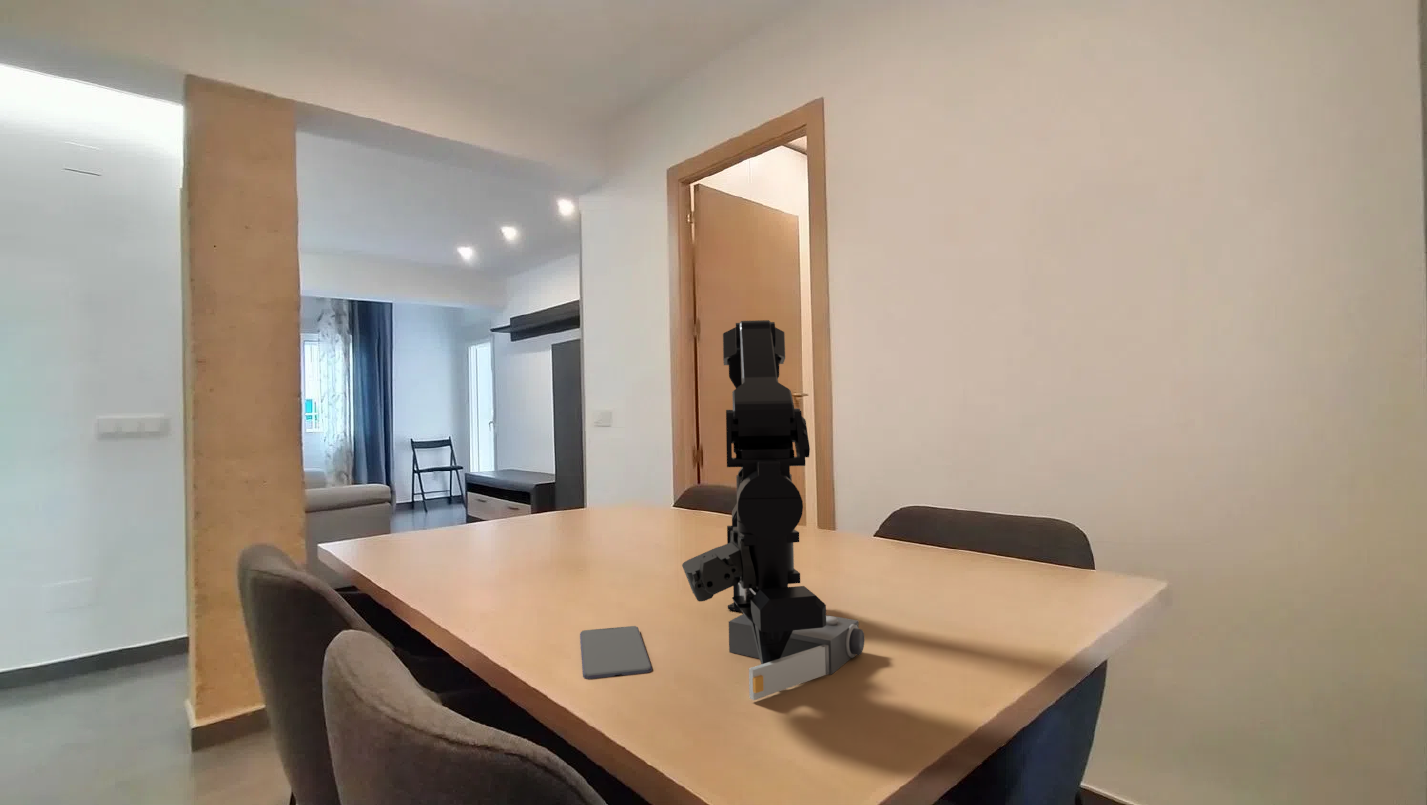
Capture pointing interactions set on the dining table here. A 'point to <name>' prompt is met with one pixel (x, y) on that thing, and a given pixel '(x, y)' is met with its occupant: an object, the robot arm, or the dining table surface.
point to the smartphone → (613, 652)
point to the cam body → (805, 640)
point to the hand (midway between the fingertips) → (768, 671)
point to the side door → (788, 671)
